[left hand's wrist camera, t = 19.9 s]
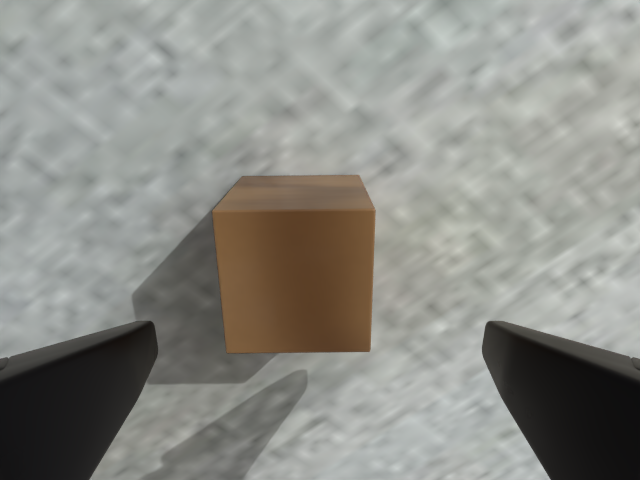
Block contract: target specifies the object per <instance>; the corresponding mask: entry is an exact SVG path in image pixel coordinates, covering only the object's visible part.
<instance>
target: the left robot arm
mask: <svg viewBox="0 0 640 480" xmlns="http://www.w3.org/2000/svg"><path fill="white" fill-rule="evenodd" d="M157 354H158V345H157V338H156V332H155V326H154V324H153V322H151V321H136V322H132V323H129V324H125V325H122V326H118V327H114V328H111V329H107V330H104V331H100V332H97V333H93V334H89V335H86V336H82V337H79V338H75V339H72V340H68V341H65V342H61V343H57V344H54V345H50V346H47V347H43V348H40V349H36V350H33V351H29V352H25V353H22V354H18V355H15V356H11V357H10V358H7V357H6V358H2V359H0V480H89V479H90V478H91V476H92V474H93V473H94V471H95V469H96V468H97V466H98V464H99V463H100V461H101V459H102V458H103V456H104V454H105V453H106V451H107V449H108V448H109V446H110V444H111V443H112V441H113V440H114V438H115V436H116V435H117V433H118V431H119V430H120V428H121V426H122V425H123V423H124V421H125V420H126V418H127V416H128V415H129V413H130V411H131V410H132V408H133V406H134V405H135V403H136V401H137V399H138V398H139V396H140V394H141V392H142V389H143V387H144V385H145V383H146V380H147V378H148V376H149V374H150V371H151V369H152V367H153V365H154V362H155V360H156V358H157ZM482 354H483V358H484V360H485V362H486V365H487V367H488V369H489V371H490V374H491V376H492V378H493V380H494V383H495V385H496V387H497V389H498V392H499V394H500V396H501V398H502V399H503V401H504V403H505V405H506V406H507V408H508V410H509V411H510V413H511V415H512V416H513V418H514V420H515V421H516V423H517V425H518V426H519V428H520V430H521V431H522V433H523V435H524V436H525V438H526V440H527V441H528V443H529V444H530V446H531V448H532V449H533V451H534V453H535V454H536V456H537V458H538V459H539V461H540V463H541V464H542V466H543V468H544V469H545V471H546V473H547V474H548V476H549V478H550V479H551V480H640V359H638V358H634V357H633V358H630V357H629V356H625V355H622V354H618V353H615V352H611V351H607V350H604V349H600V348H597V347H593V346H590V345H586V344H583V343H579V342H575V341H572V340H568V339H565V338H561V337H558V336H554V335H551V334H547V333H543V332H540V331H536V330H533V329H529V328H526V327H522V326H518V325H515V324H511V323H508V322H504V321H488V322H487V324H486V326H485V332H484V338H483V345H482Z"/></svg>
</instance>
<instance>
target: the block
mask: <svg viewBox="0 0 640 480" xmlns="http://www.w3.org/2000/svg"><path fill="white" fill-rule="evenodd" d="M375 211H376V210H375V208H374V206H373V204H372V202H371V199H370V197H369V195H368V193H367V191H366V189H365V186H364V184H363V182H362V180H361V178H360V176H359V175H310V176H242V177H241V178H240V179H239V180H238V182H237V183H236V184H235V185H234V186H233V187H232V188H231V190H230V191H229V192H228V193H227V194H226V195H225V197H224V198H223V199H222V200H221V201H220V202H219V203H218V205H217V206H216V207H215V208H214V209H213V210H212V218H213V228H214V238H215V248H216V258H217V268H218V277H219V287H220V297H221V307H222V317H223V326H224V336H225V346H226V353H308V352H370V349H371V321H372V294H373V266H374V238H375Z"/></svg>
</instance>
